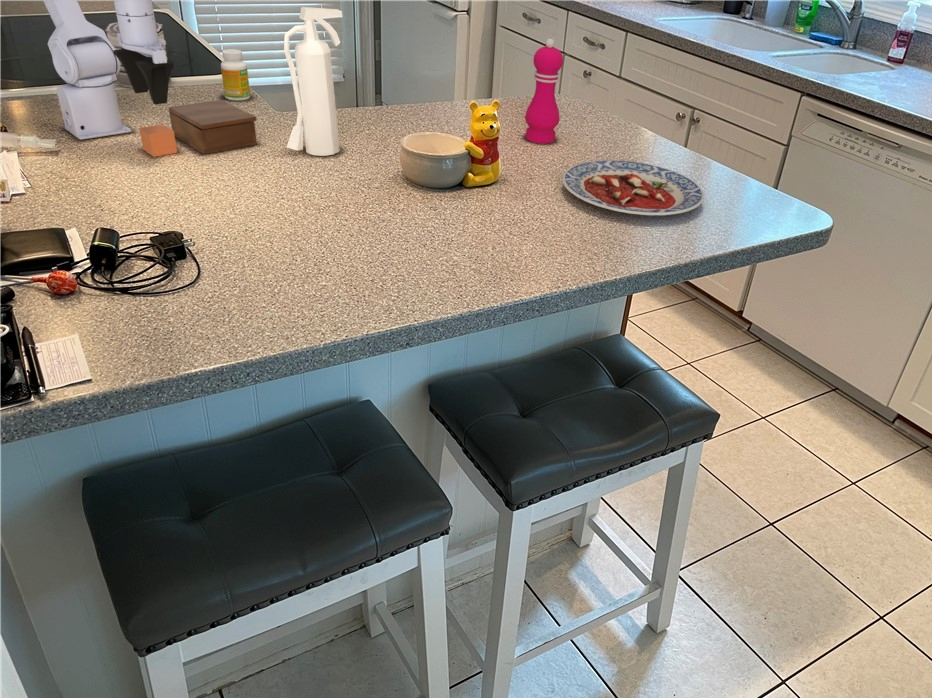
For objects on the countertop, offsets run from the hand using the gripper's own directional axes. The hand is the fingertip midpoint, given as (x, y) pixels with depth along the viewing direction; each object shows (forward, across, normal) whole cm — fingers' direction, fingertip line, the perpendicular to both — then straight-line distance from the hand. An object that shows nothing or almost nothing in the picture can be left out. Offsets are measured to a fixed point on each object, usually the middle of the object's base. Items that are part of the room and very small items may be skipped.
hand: (150, 97), depth 135 cm
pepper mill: (+10, -31, -68) cm, 75 cm away
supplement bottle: (+10, +24, -28) cm, 38 cm away
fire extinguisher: (+10, -14, -24) cm, 29 cm away
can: (+10, +44, -16) cm, 48 cm away
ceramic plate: (+10, -63, -59) cm, 87 cm away
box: (+10, +1, -11) cm, 15 cm away
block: (+10, 0, 0) cm, 10 cm away
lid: (+5, +1, -11) cm, 12 cm away
